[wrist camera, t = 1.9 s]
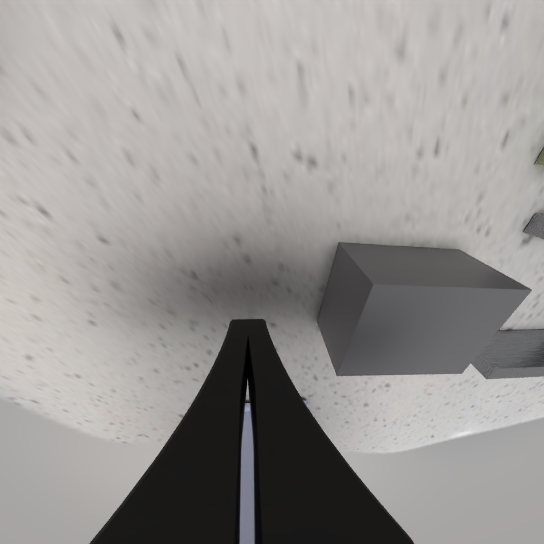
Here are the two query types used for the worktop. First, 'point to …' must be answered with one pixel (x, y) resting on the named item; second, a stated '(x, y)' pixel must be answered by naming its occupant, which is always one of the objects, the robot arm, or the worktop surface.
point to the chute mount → (515, 337)
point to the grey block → (411, 309)
